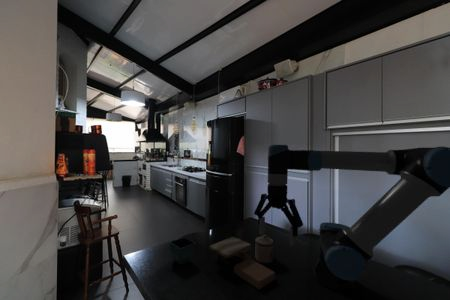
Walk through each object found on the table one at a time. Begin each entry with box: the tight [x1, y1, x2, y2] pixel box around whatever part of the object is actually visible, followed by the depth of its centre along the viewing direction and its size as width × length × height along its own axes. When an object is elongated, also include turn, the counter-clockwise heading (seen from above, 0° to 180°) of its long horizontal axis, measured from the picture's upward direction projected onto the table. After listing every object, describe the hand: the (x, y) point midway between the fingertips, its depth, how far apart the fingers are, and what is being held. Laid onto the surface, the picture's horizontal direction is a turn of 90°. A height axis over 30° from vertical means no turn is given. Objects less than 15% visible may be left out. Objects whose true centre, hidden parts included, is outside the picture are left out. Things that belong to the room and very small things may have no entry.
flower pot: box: [169, 236, 196, 266], centre depth 99 cm, size 9×9×9 cm
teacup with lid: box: [254, 234, 275, 264], centre depth 104 cm, size 12×9×12 cm
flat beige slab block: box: [208, 236, 252, 263], centre depth 99 cm, size 12×16×8 cm
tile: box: [233, 258, 276, 290], centre depth 89 cm, size 14×10×4 cm
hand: (276, 238), depth 82 cm, fingers open, 13 cm apart
